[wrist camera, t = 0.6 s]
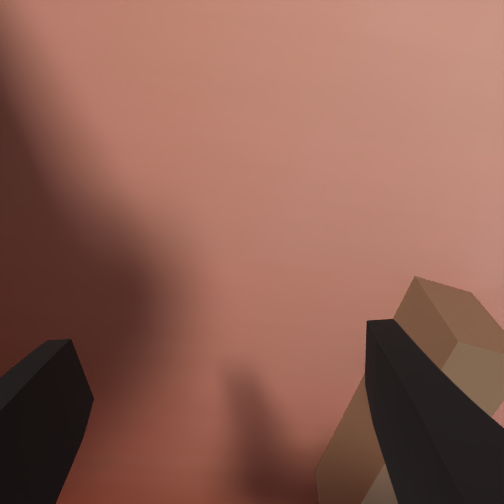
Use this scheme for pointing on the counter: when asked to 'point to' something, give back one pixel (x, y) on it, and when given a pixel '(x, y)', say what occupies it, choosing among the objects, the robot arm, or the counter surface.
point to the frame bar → (445, 358)
